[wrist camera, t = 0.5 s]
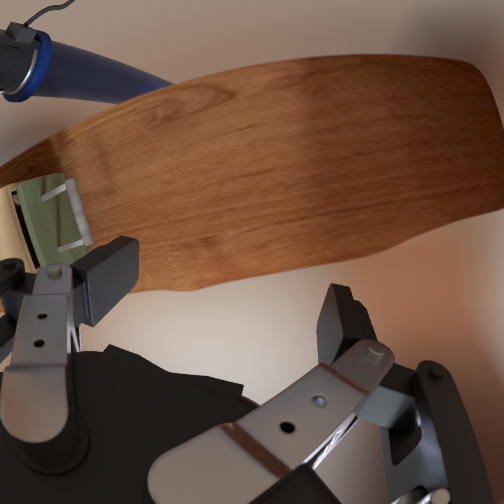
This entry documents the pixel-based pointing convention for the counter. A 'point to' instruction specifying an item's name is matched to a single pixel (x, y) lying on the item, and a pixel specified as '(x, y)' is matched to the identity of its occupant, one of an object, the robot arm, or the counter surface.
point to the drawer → (52, 220)
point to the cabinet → (13, 229)
